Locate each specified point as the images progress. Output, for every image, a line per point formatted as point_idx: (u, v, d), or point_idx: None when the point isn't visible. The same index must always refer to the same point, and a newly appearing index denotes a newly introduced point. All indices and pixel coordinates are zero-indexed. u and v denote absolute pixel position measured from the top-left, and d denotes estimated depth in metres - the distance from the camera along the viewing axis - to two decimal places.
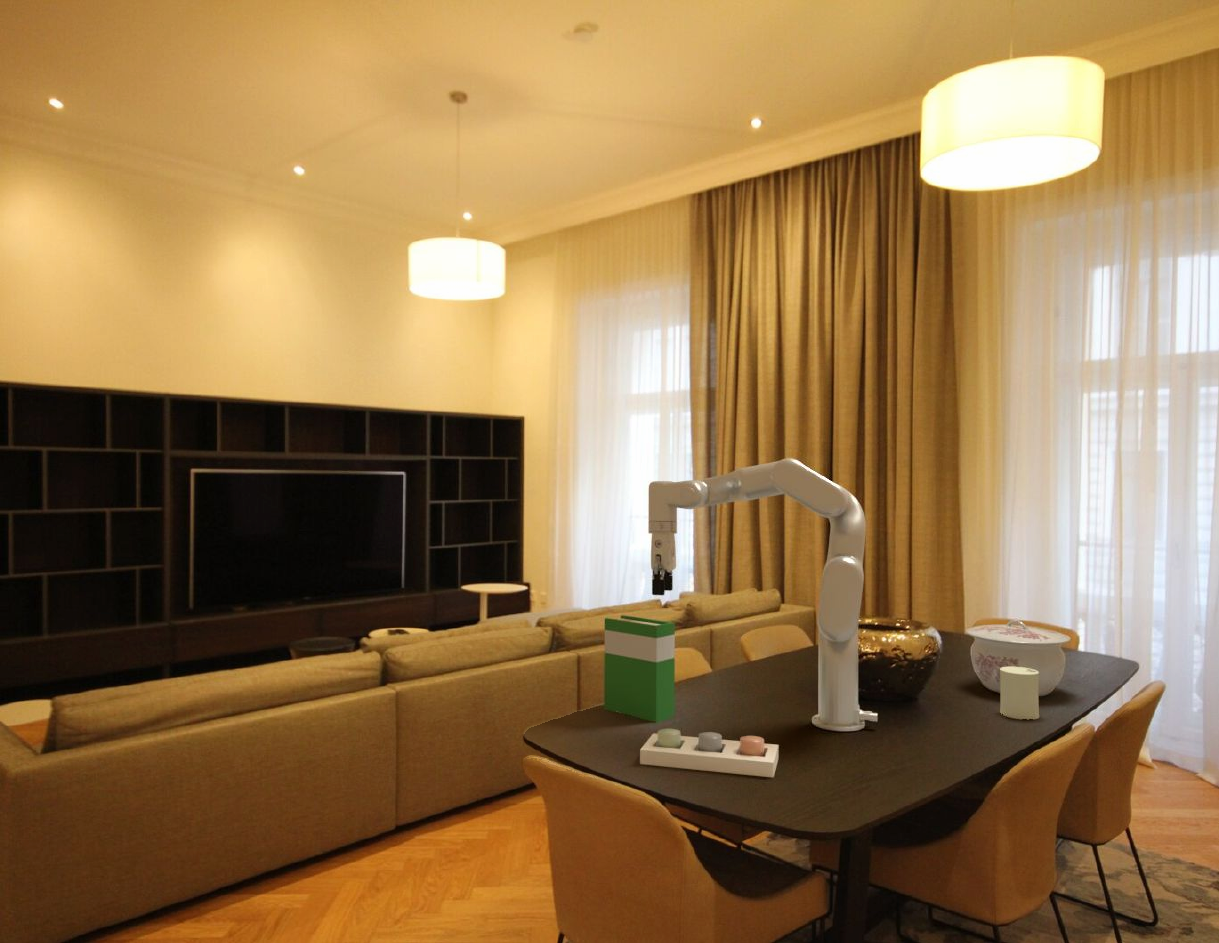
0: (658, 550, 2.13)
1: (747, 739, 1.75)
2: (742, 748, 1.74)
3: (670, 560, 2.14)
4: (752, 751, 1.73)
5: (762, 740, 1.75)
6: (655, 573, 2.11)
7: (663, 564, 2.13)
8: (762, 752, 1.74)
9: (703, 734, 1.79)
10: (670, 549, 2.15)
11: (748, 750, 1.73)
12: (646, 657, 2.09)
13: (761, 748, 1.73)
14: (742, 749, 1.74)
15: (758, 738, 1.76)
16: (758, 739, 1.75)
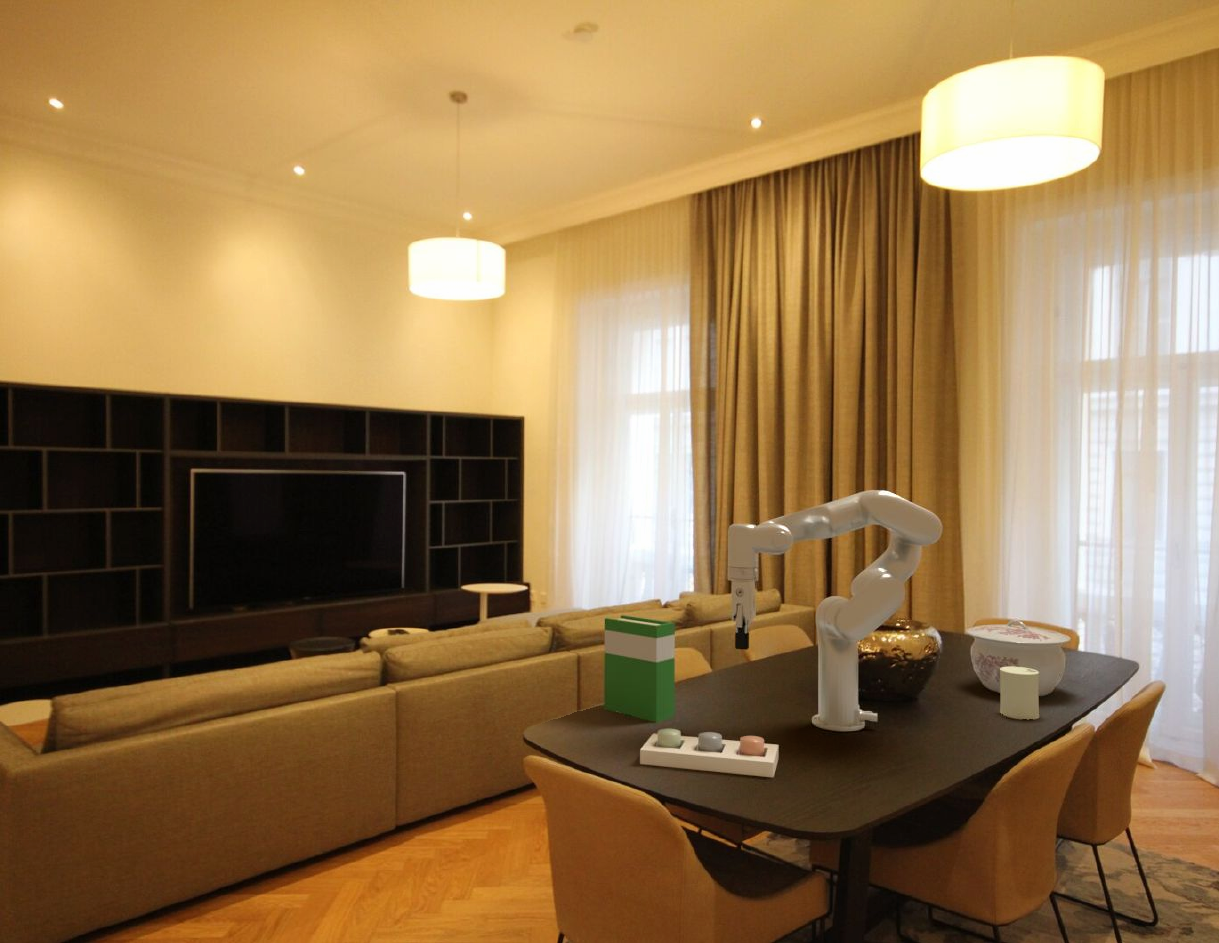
0: (739, 599, 1.98)
1: (747, 739, 1.75)
2: (742, 748, 1.74)
3: (752, 610, 2.00)
4: (752, 751, 1.73)
5: (762, 740, 1.75)
6: None
7: (745, 614, 1.98)
8: (762, 752, 1.74)
9: (703, 734, 1.79)
10: (752, 598, 2.00)
11: (748, 750, 1.73)
12: (646, 657, 2.09)
13: (761, 748, 1.73)
14: (742, 749, 1.74)
15: (758, 738, 1.76)
16: (758, 739, 1.75)
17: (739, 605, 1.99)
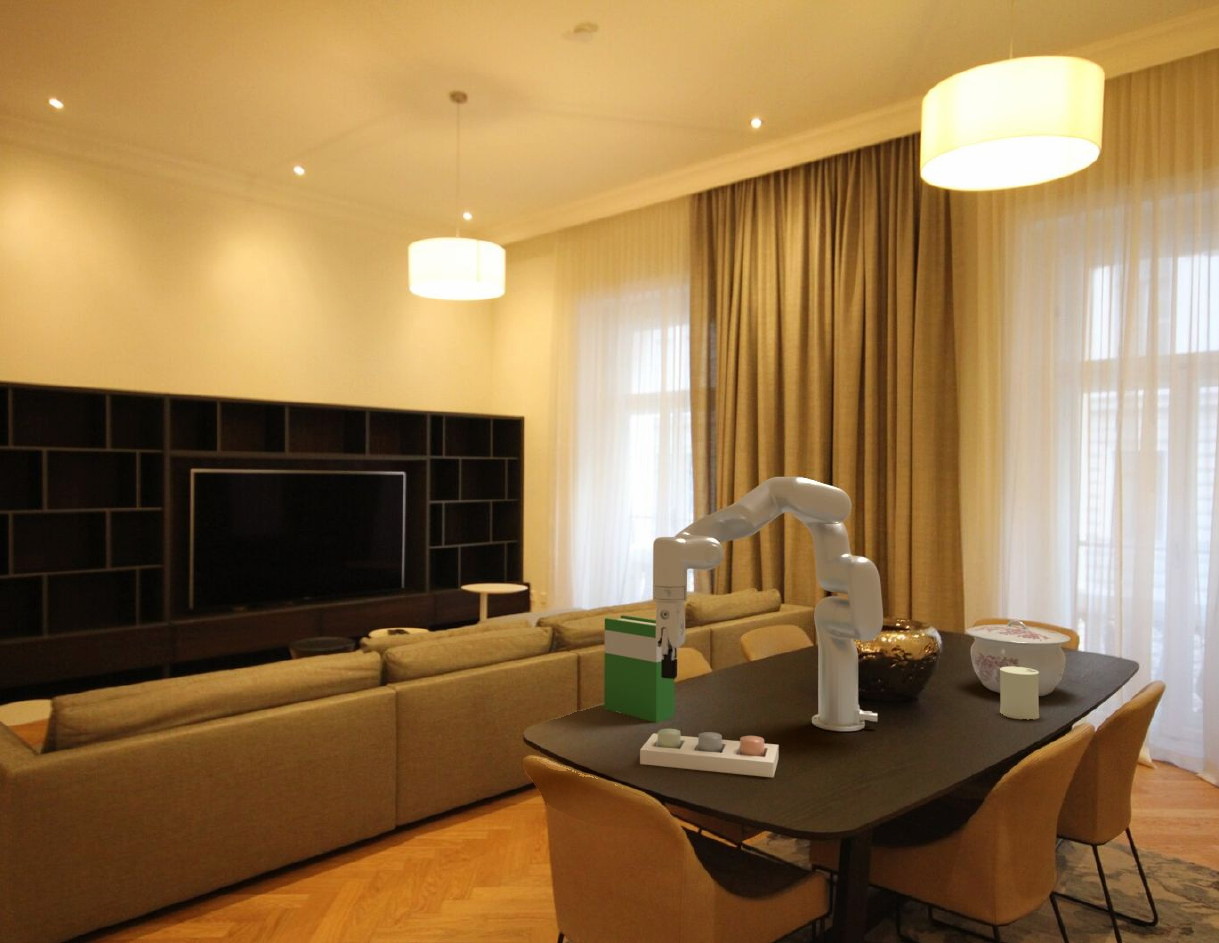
0: (664, 622, 1.76)
1: (747, 739, 1.75)
2: (742, 748, 1.74)
3: (679, 634, 1.77)
4: (752, 751, 1.73)
5: (762, 740, 1.75)
6: None
7: (670, 639, 1.75)
8: (762, 752, 1.74)
9: (703, 734, 1.79)
10: (679, 621, 1.77)
11: (748, 750, 1.73)
12: (646, 657, 2.09)
13: (761, 748, 1.73)
14: (742, 749, 1.74)
15: (758, 738, 1.76)
16: (758, 739, 1.75)
17: (664, 629, 1.77)
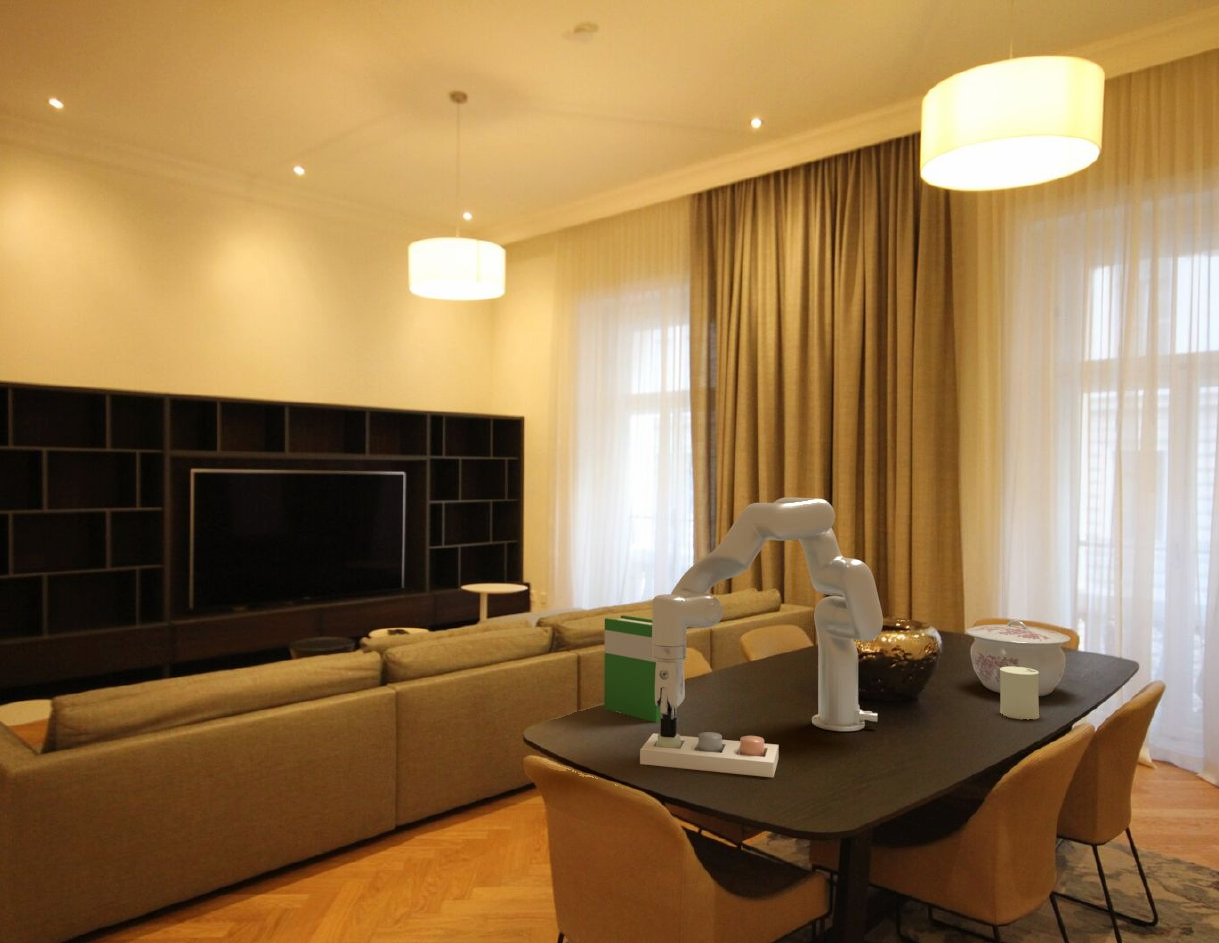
0: (663, 682, 1.76)
1: (747, 739, 1.75)
2: (742, 748, 1.74)
3: (678, 694, 1.77)
4: (752, 751, 1.73)
5: (762, 740, 1.75)
6: None
7: (670, 700, 1.75)
8: (762, 752, 1.74)
9: (703, 734, 1.79)
10: (678, 680, 1.77)
11: (748, 750, 1.73)
12: (646, 657, 2.09)
13: (761, 748, 1.73)
14: (742, 749, 1.74)
15: (758, 738, 1.76)
16: (758, 739, 1.75)
17: (663, 689, 1.76)
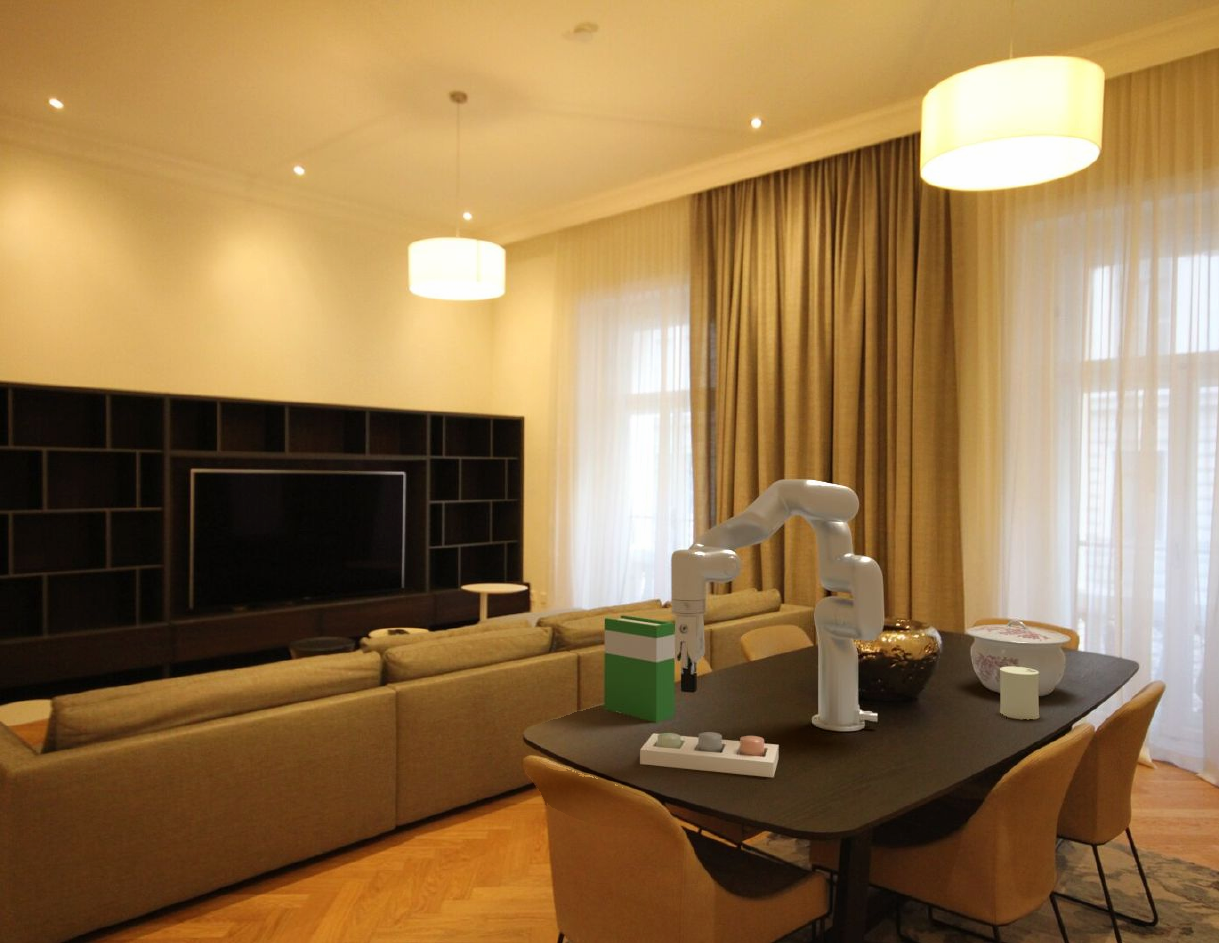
0: (683, 637, 1.75)
1: (747, 739, 1.75)
2: (742, 748, 1.74)
3: (698, 648, 1.76)
4: (752, 751, 1.73)
5: (762, 740, 1.75)
6: None
7: (690, 654, 1.74)
8: (762, 752, 1.74)
9: (703, 734, 1.79)
10: (698, 634, 1.76)
11: (748, 750, 1.73)
12: (646, 657, 2.09)
13: (761, 748, 1.73)
14: (742, 749, 1.74)
15: (758, 738, 1.76)
16: (758, 739, 1.75)
17: (683, 643, 1.76)
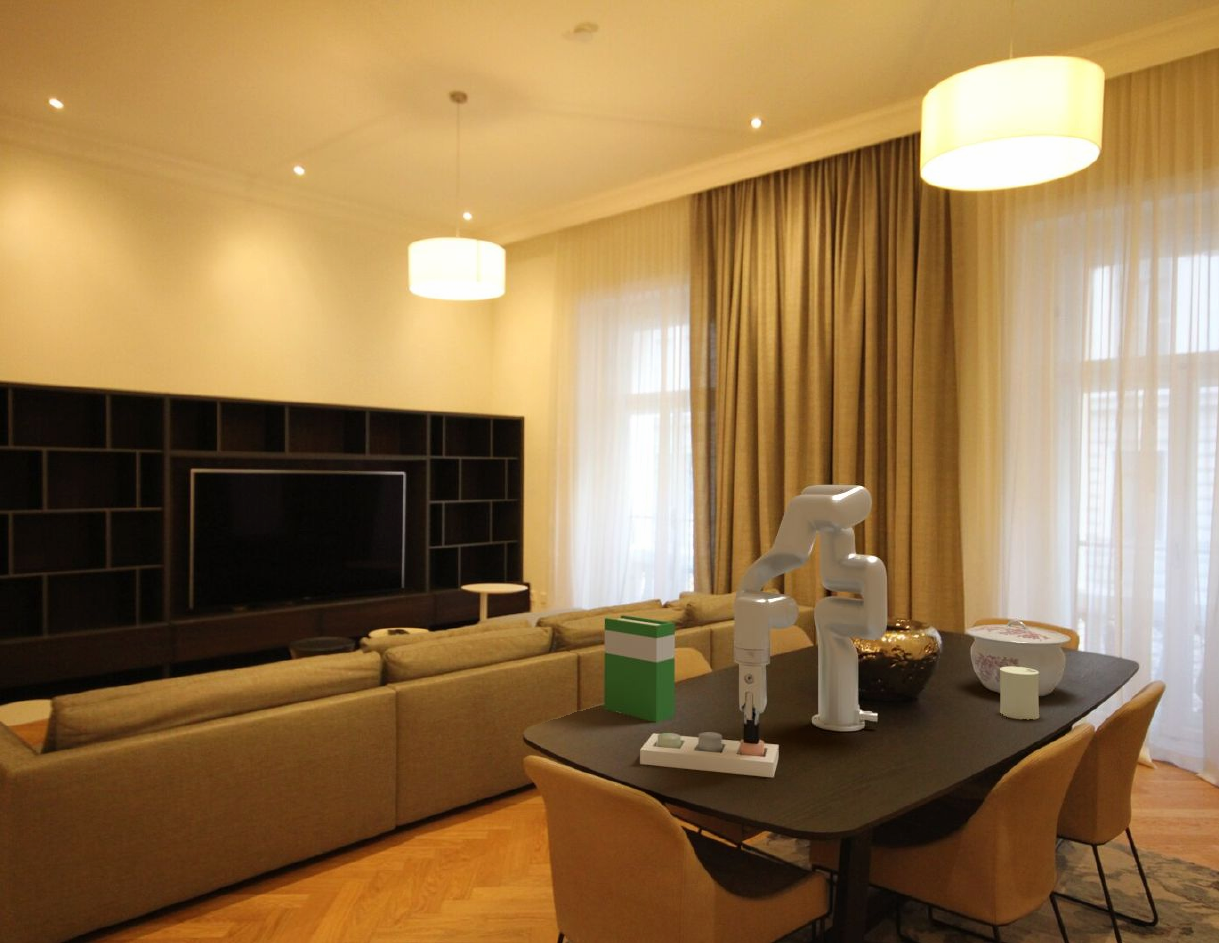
0: (749, 687, 1.71)
1: None
2: (742, 751, 1.74)
3: (763, 698, 1.72)
4: (752, 754, 1.73)
5: (762, 743, 1.75)
6: None
7: (755, 705, 1.70)
8: (762, 755, 1.74)
9: (703, 734, 1.79)
10: (763, 684, 1.72)
11: (748, 753, 1.73)
12: (646, 657, 2.09)
13: (761, 750, 1.73)
14: (742, 752, 1.74)
15: None
16: None
17: (748, 693, 1.71)
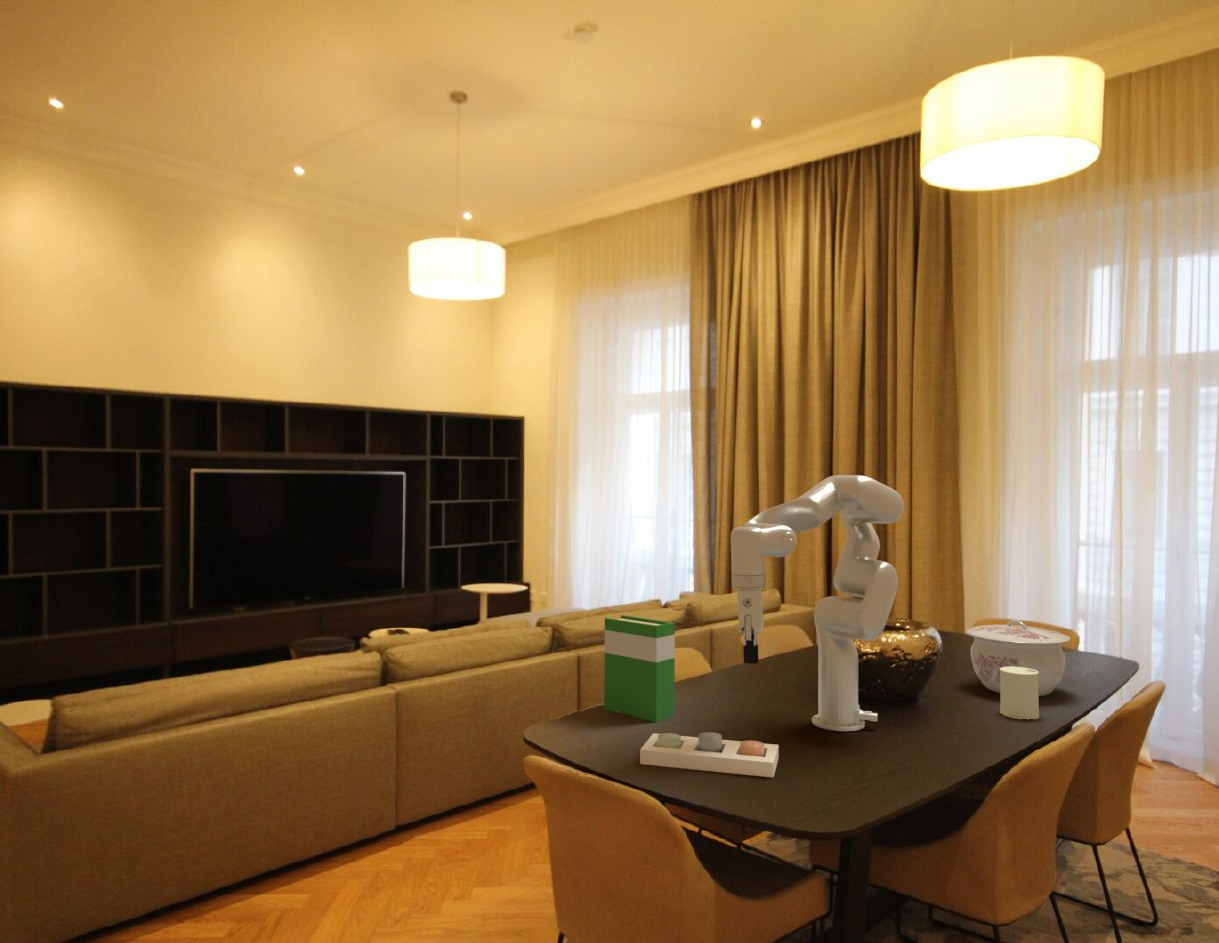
0: (747, 610, 1.82)
1: (747, 744, 1.75)
2: (742, 753, 1.74)
3: (761, 621, 1.83)
4: None
5: (762, 745, 1.75)
6: None
7: (754, 626, 1.81)
8: None
9: (703, 734, 1.79)
10: (760, 608, 1.83)
11: (748, 755, 1.73)
12: (646, 657, 2.09)
13: (761, 752, 1.73)
14: (742, 754, 1.74)
15: (758, 743, 1.76)
16: (758, 744, 1.75)
17: (747, 616, 1.83)
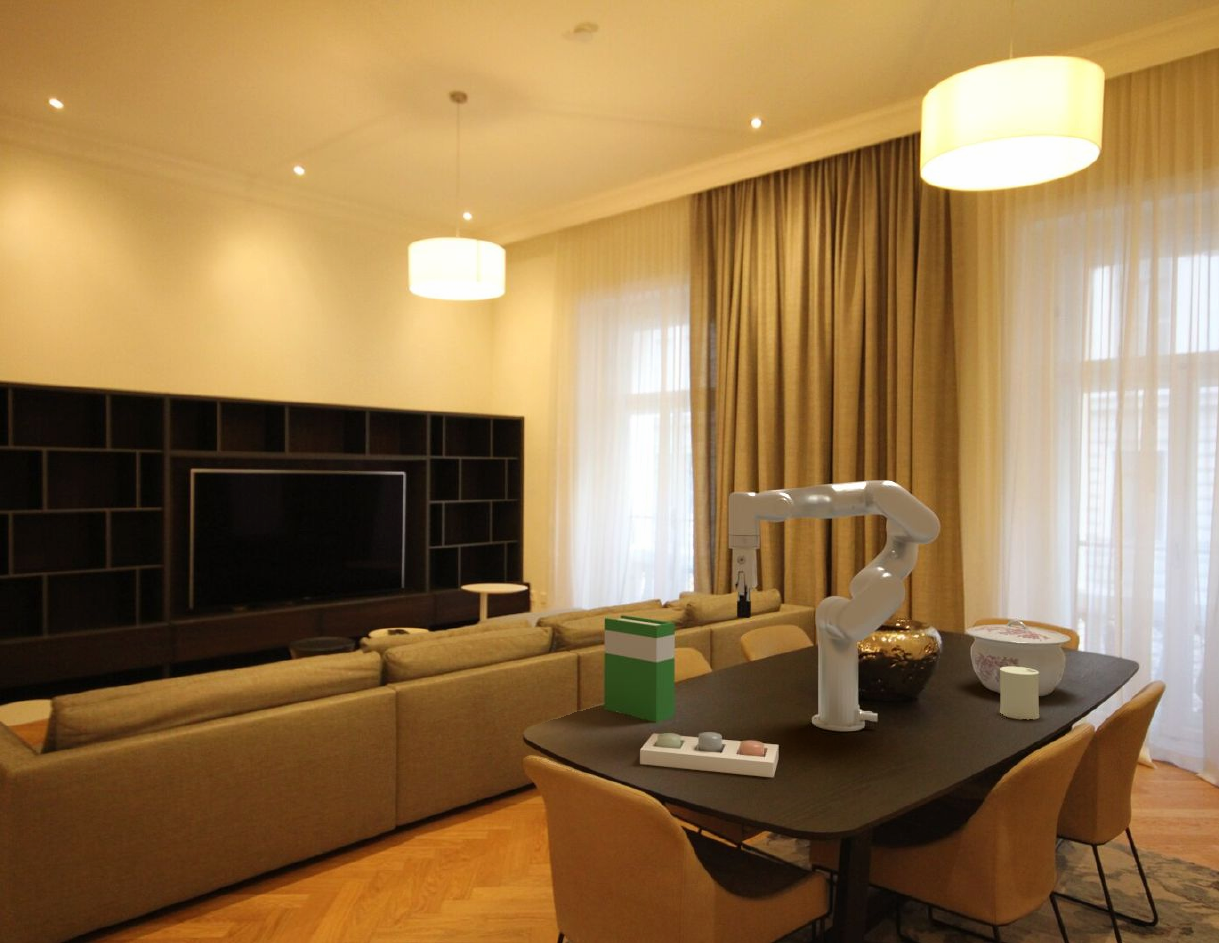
0: (741, 567, 1.97)
1: (747, 744, 1.75)
2: (742, 753, 1.74)
3: (754, 577, 1.99)
4: None
5: (762, 745, 1.75)
6: None
7: (747, 582, 1.97)
8: None
9: (703, 734, 1.79)
10: (753, 566, 1.99)
11: (748, 755, 1.73)
12: (646, 657, 2.09)
13: (761, 752, 1.73)
14: (742, 754, 1.74)
15: (758, 743, 1.76)
16: (758, 744, 1.75)
17: (741, 573, 1.98)
